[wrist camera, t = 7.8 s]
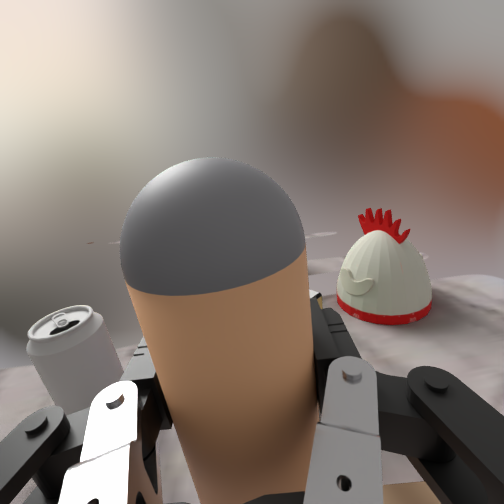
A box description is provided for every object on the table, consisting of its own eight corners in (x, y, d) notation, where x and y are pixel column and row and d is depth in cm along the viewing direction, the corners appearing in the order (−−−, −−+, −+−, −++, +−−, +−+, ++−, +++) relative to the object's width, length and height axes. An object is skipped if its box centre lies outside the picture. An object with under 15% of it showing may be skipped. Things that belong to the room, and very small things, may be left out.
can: (72, 442, 31) (23, 353, 26) (57, 403, 36) (15, 324, 31) (139, 396, 35) (107, 313, 31) (117, 367, 40) (87, 294, 36)
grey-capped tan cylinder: (190, 497, 13) (75, 176, 8) (272, 427, 16) (227, 150, 10) (257, 632, 9) (120, 179, 4) (351, 510, 12) (343, 137, 7)
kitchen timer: (374, 271, 55) (375, 194, 50) (450, 300, 44) (463, 203, 38) (319, 298, 50) (314, 214, 44) (390, 338, 38) (395, 231, 33)
